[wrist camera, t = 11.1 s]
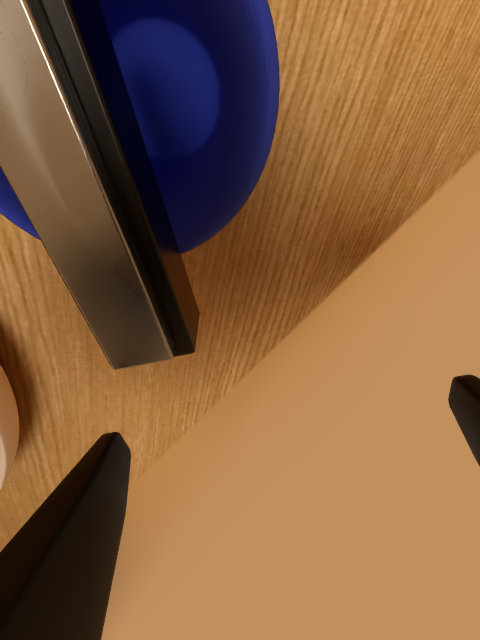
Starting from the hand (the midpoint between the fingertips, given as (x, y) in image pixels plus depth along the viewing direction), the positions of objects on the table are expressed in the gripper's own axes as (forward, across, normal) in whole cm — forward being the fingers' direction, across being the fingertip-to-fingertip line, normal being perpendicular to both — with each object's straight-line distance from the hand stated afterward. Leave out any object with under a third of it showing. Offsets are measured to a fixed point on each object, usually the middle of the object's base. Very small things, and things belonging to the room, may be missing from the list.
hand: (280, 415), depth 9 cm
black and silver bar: (+3, +3, -6) cm, 7 cm away
